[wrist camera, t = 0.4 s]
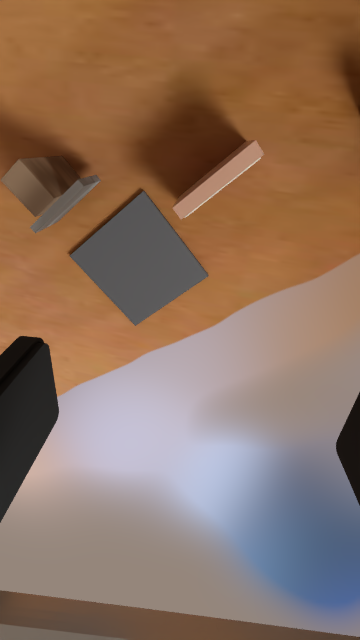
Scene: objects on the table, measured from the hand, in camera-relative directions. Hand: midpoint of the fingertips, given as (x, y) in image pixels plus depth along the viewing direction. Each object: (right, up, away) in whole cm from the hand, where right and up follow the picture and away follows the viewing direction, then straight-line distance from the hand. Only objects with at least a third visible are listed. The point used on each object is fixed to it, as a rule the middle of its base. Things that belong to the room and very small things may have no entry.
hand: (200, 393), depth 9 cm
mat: (-6, +10, +35) cm, 37 cm away
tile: (+4, +20, +29) cm, 35 cm away
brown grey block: (-15, +20, +30) cm, 39 cm away
